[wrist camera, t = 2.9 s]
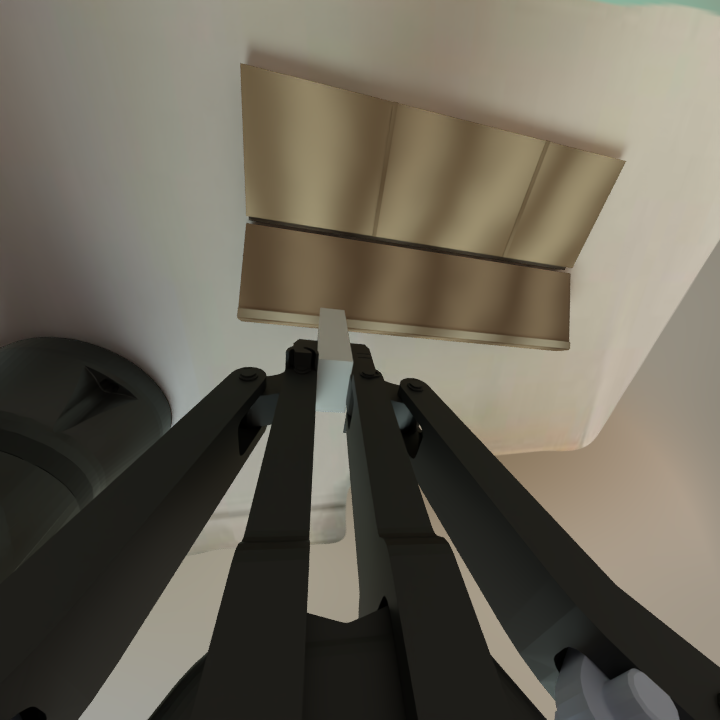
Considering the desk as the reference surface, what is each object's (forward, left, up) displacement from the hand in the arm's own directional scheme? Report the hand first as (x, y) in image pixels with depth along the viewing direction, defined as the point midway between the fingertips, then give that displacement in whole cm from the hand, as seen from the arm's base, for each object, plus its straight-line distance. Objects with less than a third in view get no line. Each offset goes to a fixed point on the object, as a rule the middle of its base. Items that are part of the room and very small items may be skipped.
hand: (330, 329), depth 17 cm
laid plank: (+8, +9, -8) cm, 14 cm away
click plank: (+8, +1, -6) cm, 10 cm away
